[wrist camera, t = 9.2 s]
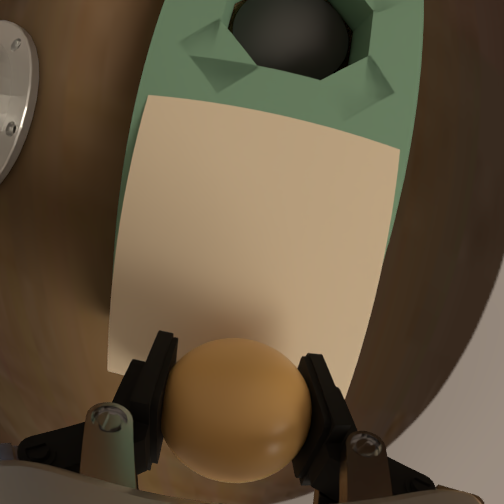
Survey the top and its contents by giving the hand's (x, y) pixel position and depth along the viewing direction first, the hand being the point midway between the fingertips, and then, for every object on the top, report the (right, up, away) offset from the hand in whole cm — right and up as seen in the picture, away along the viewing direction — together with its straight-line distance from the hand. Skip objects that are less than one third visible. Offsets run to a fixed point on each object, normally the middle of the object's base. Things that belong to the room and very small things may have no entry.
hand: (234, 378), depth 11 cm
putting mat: (+2, +11, +4) cm, 11 cm away
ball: (0, -1, -2) cm, 2 cm away
